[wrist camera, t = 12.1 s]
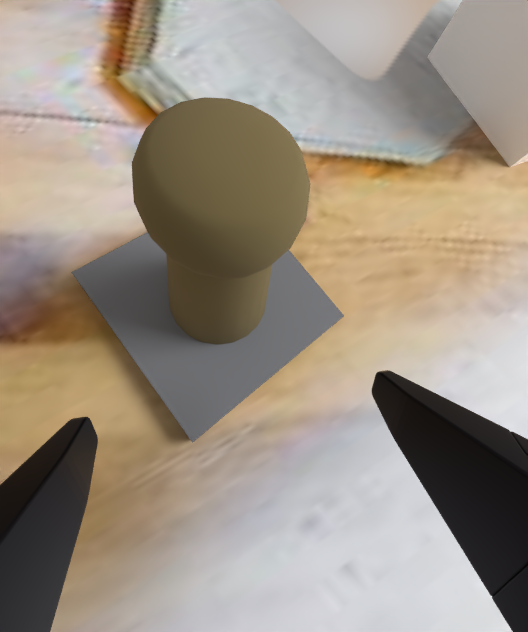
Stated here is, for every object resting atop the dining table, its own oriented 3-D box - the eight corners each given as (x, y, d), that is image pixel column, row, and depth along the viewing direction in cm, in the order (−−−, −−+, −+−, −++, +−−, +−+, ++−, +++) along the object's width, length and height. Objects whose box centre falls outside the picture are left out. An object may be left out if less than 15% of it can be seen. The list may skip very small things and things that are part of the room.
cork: (205, 365, 16) (190, 305, 6) (148, 283, 17) (41, 95, 6) (284, 309, 18) (386, 186, 7) (230, 238, 18) (253, 35, 8)
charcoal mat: (193, 439, 16) (192, 442, 15) (79, 279, 17) (71, 272, 16) (337, 319, 19) (344, 315, 18) (234, 196, 21) (235, 186, 20)
